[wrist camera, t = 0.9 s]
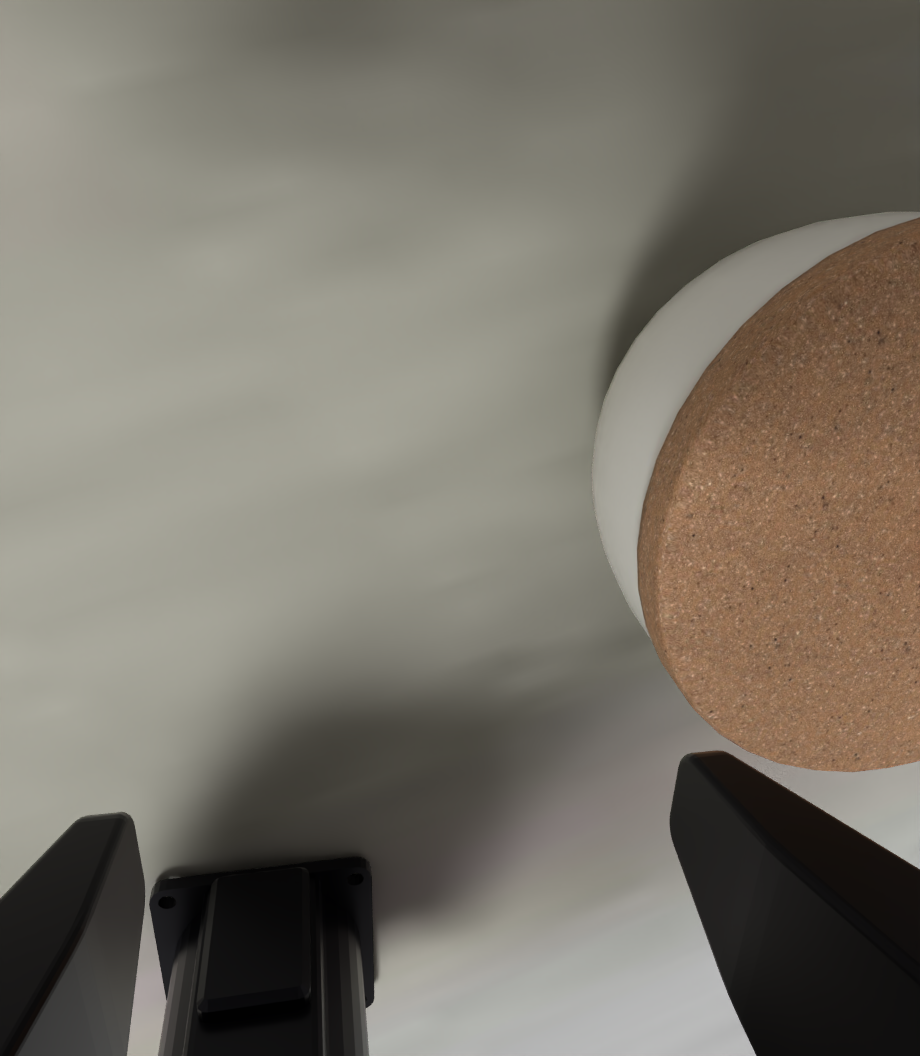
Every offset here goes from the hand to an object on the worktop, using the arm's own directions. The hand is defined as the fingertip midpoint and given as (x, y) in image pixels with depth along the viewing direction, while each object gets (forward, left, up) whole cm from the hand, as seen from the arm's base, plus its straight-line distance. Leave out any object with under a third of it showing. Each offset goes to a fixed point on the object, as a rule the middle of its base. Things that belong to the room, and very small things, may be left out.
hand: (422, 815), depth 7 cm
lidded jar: (0, -10, -13) cm, 17 cm away
